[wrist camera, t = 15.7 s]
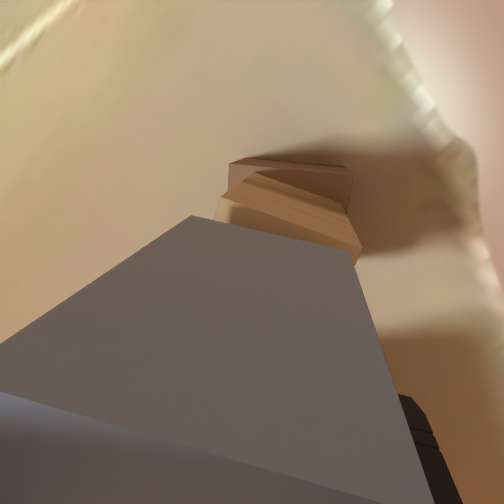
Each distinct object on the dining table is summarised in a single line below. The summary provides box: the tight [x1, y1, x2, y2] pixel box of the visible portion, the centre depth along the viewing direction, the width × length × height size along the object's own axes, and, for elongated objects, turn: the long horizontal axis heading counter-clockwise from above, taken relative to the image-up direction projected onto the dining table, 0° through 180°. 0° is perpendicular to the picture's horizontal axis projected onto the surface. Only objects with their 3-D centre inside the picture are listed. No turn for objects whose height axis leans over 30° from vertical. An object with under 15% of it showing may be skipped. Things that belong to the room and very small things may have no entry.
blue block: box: [0, 215, 435, 504], centre depth 9 cm, size 6×6×9 cm
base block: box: [228, 158, 353, 215], centre depth 25 cm, size 8×8×6 cm
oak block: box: [214, 172, 363, 266], centre depth 18 cm, size 6×6×9 cm
